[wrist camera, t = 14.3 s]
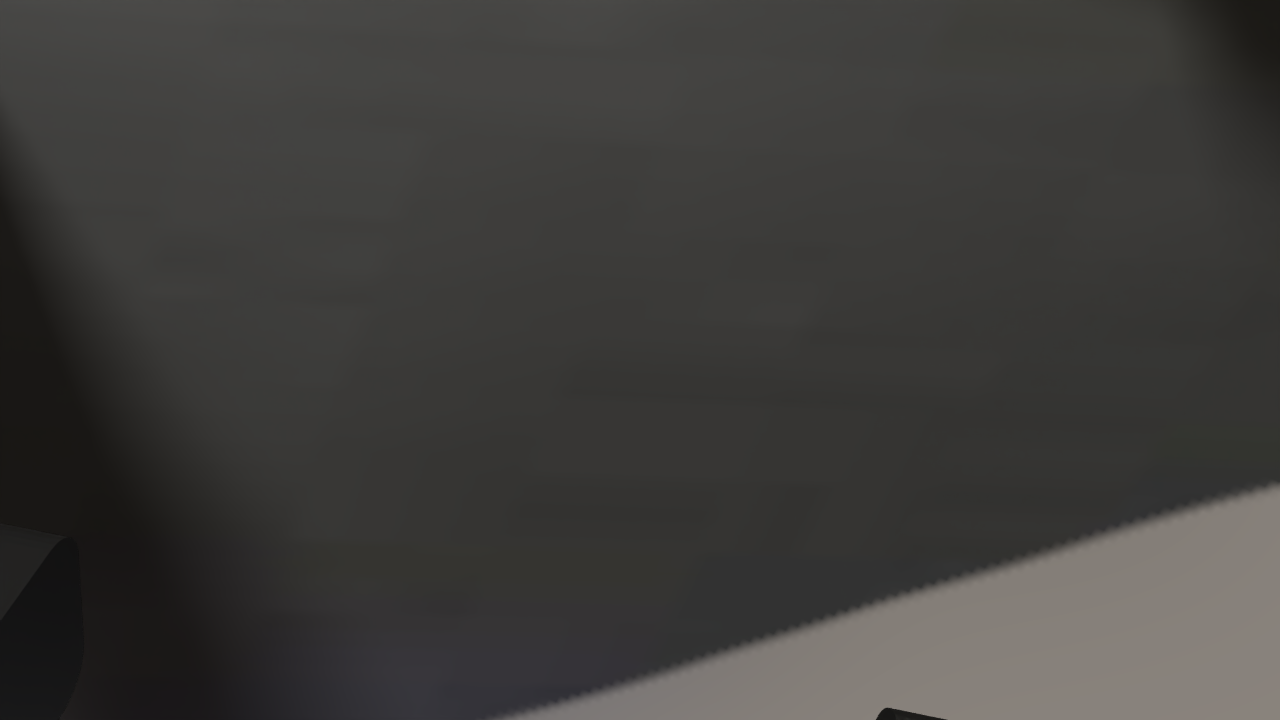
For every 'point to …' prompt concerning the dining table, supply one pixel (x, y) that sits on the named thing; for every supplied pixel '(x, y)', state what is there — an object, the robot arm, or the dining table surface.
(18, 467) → the dining table surface
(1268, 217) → the dining table surface
